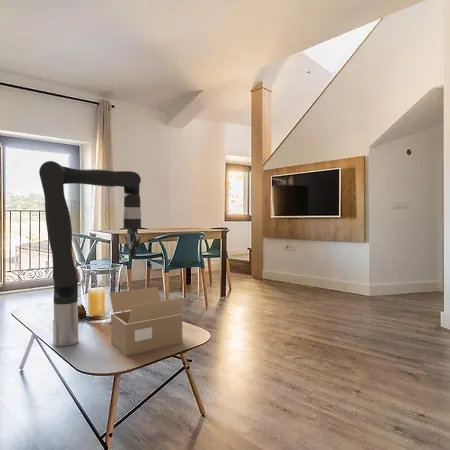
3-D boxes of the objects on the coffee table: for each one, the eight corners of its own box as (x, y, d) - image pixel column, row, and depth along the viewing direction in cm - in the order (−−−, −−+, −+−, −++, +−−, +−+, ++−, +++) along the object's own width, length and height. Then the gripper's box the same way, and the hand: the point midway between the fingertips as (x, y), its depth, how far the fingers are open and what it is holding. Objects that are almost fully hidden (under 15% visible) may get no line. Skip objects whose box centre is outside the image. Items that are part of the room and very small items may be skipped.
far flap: (161, 304, 162) (161, 305, 162) (157, 286, 166) (156, 287, 166) (113, 312, 149) (113, 312, 150) (109, 292, 153) (109, 293, 153)
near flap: (128, 322, 135) (128, 323, 135) (132, 305, 131) (132, 306, 130) (179, 313, 147) (180, 314, 147) (185, 297, 143) (185, 298, 143)
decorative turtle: (67, 318, 184) (67, 303, 184) (95, 315, 194) (95, 300, 195) (74, 321, 177) (75, 305, 177) (103, 317, 187) (104, 302, 188)
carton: (126, 356, 134) (125, 324, 134) (111, 342, 149) (110, 314, 149) (182, 343, 148) (182, 314, 148) (163, 331, 163) (163, 305, 163)
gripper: (118, 217, 159) (119, 256, 160) (129, 217, 148) (129, 259, 149) (135, 217, 163) (135, 255, 164) (146, 217, 153) (146, 258, 153)
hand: (132, 257), depth 156 cm, fingers closed
